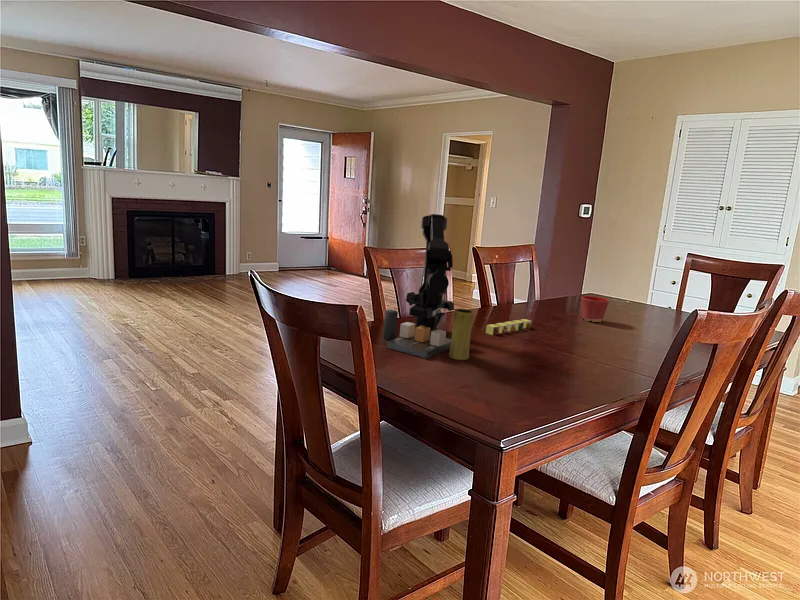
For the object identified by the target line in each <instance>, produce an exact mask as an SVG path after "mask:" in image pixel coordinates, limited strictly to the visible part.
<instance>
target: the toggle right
mask: <svg viewBox="0 0 800 600" xmlns="http://www.w3.org/2000/svg"><path fill="white" fill-rule="evenodd" d="M446 336H447V331H445V330H442V329H437V328H436V329H435V330H434V331H431V339H430V344H431V345H435V346H438V347H439V346H441V345H443V344H445V338H447V337H446Z"/></svg>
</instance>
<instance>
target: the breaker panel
mask: <svg viewBox="0 0 800 600" xmlns="http://www.w3.org/2000/svg"><path fill="white" fill-rule="evenodd" d="M430 339H431V335H430V338H429V340H428V341H425V342H419V341H416V340H415V333H414V336H413V337H410V338H404V337H400V336H398V337H396V338H395V339H392V340H387V341H386V349H390V350H394V351H397V352H401V353H403V354H404V353H405V354H408V355H411V356H414V357H415V356H416V357H418V358H422V359H425V360H426V359H430V358H431V357H433V356H436V355H438V354H440V353H442V352H445V351H447V350H450V344H451V338H447V337H446V338H445V344H443V345H441V346H439V347H438V346H435V345H431V344H430Z"/></svg>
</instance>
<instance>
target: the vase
mask: <svg viewBox="0 0 800 600" xmlns="http://www.w3.org/2000/svg"><path fill="white" fill-rule="evenodd" d="M473 315H474V313H473V310H471V309H466V308H456V309H455V310H454V315H453V316H454V317H453V324H452V325H453V326H452V332H451V338H450V339H451V344H450V348H449V349H448V350H449V352H448V357H449V358H450V359H453V360H455V361H467V360H469V358H470V345H471V344H470V343H471V333H472V323H473Z"/></svg>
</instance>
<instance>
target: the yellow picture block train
mask: <svg viewBox="0 0 800 600" xmlns="http://www.w3.org/2000/svg"><path fill="white" fill-rule="evenodd" d="M530 327H531V328H532V320H531V319H526V318H522V319H519V320H518V319H517V320H515V319H514V320H511V321H509V320H508V321H504V322H498V323H497V322H496V323H495V324H493V323H492V324H487V325H486V328H485V334H488V335H491V336H495V335H499V334H501V333H502V334H507V333H512V332H511V331H513V332H516V331H517V330H518V331H522V330H521V329H523V328H529V329H531V328H530ZM515 329H516V330H515ZM523 330H524V329H523ZM508 331H509V332H508ZM506 332H507V333H506Z"/></svg>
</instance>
